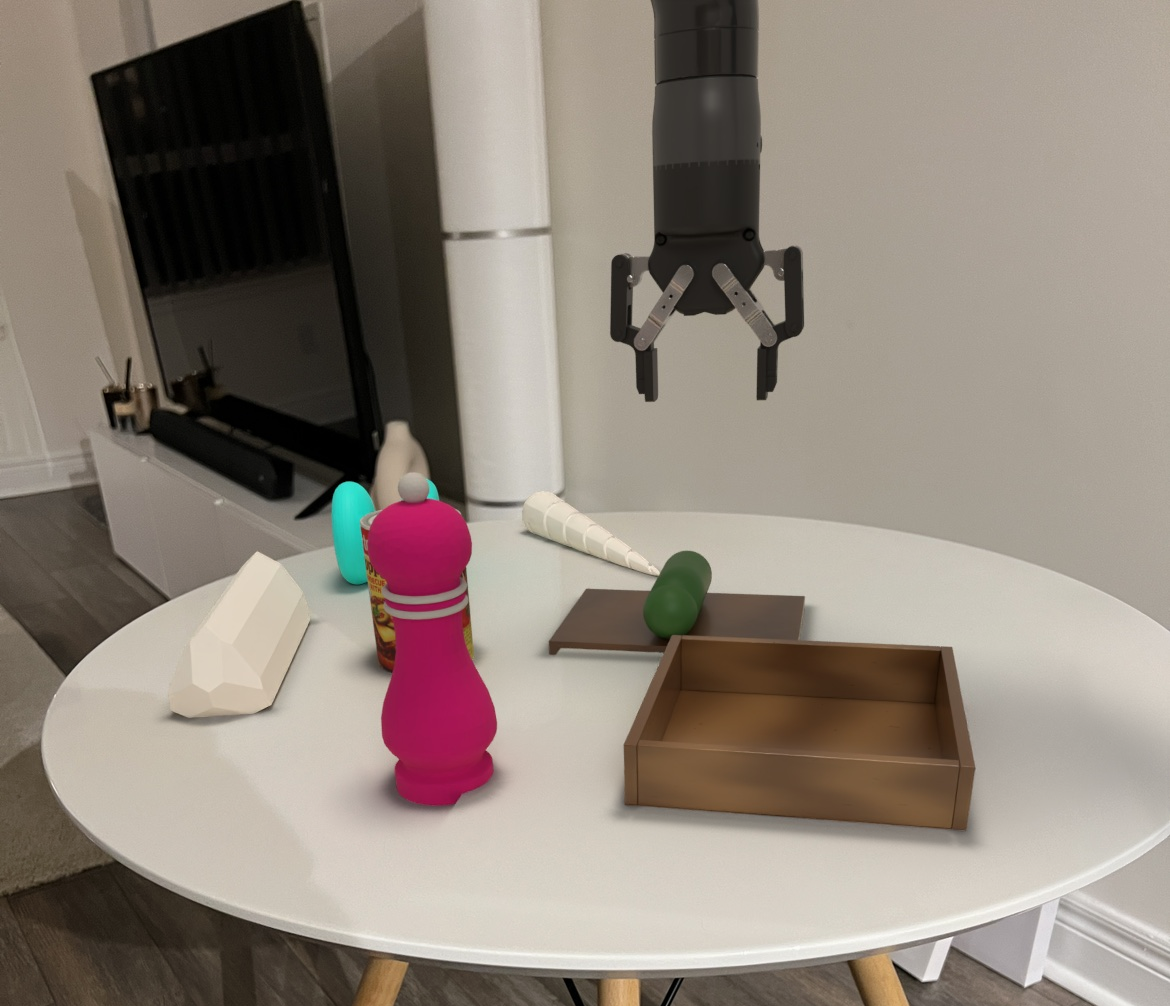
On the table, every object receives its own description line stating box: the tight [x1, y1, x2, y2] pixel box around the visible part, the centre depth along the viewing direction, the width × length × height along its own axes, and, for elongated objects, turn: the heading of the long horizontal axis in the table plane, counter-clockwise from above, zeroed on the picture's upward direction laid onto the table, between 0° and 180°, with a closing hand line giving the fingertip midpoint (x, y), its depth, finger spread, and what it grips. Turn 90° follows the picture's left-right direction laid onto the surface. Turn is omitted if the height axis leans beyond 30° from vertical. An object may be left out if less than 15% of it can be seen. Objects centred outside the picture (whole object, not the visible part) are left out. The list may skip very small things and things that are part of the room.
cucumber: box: [643, 550, 713, 639], centre depth 93 cm, size 14×4×4 cm, turn 167°
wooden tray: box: [623, 635, 976, 832], centre depth 71 cm, size 20×19×5 cm
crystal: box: [168, 550, 312, 719], centre depth 90 cm, size 7×7×24 cm
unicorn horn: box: [521, 490, 661, 577], centre depth 116 cm, size 5×24×5 cm, turn 29°
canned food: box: [360, 508, 475, 674], centre depth 88 cm, size 8×8×12 cm
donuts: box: [331, 478, 440, 586], centre depth 109 cm, size 10×10×10 cm
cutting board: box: [548, 588, 806, 656], centre depth 94 cm, size 20×14×2 cm
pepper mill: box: [367, 471, 498, 807], centre depth 66 cm, size 7×7×20 cm
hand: (706, 399), depth 84 cm, fingers open, 8 cm apart
